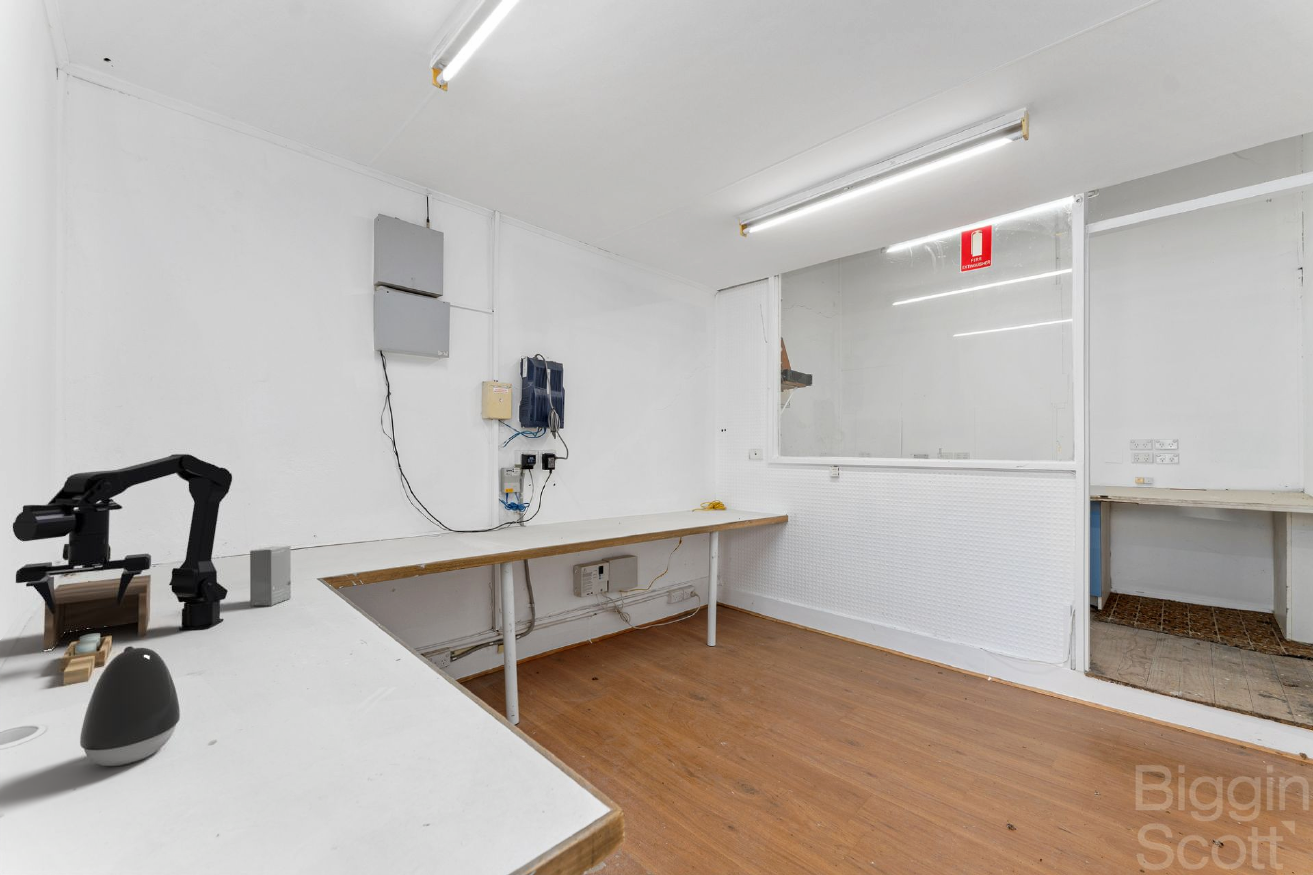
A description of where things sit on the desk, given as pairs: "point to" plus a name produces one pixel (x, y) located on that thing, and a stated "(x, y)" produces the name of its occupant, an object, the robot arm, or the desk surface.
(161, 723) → the dark grey egg dome
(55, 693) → the desk surface
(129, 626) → the desk surface
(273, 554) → the skincare box
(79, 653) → the tray
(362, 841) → the desk surface
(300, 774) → the desk surface
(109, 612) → the wooden drawer organizer
